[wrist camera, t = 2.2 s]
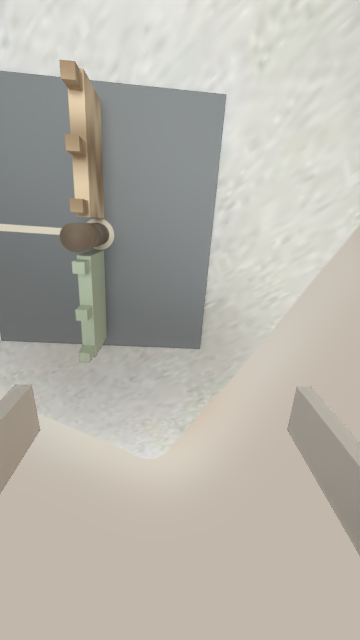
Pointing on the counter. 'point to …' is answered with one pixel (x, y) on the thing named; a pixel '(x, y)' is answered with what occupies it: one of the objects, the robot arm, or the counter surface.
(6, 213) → the board
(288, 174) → the counter surface
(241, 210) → the counter surface
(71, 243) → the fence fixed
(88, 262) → the folding panel
